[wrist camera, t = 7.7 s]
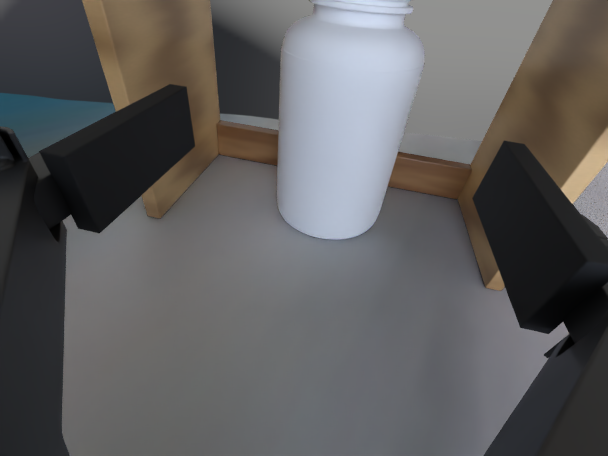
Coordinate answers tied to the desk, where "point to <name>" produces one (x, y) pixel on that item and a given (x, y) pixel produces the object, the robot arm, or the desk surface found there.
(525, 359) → the desk surface
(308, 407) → the desk surface
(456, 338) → the desk surface
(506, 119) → the open wooden shelf
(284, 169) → the pill bottle
